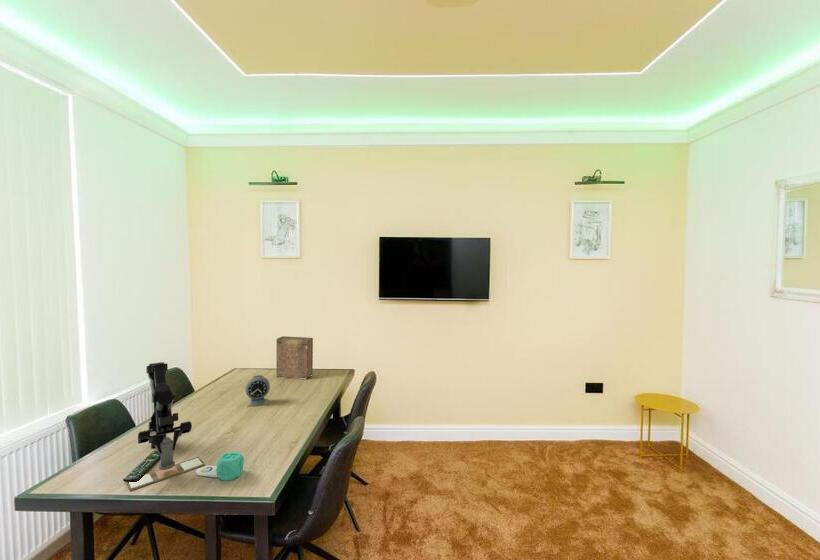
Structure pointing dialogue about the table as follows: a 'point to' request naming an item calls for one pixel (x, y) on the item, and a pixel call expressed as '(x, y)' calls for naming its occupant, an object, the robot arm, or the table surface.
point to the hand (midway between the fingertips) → (167, 451)
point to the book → (294, 357)
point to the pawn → (166, 454)
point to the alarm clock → (257, 390)
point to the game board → (166, 473)
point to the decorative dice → (230, 466)
